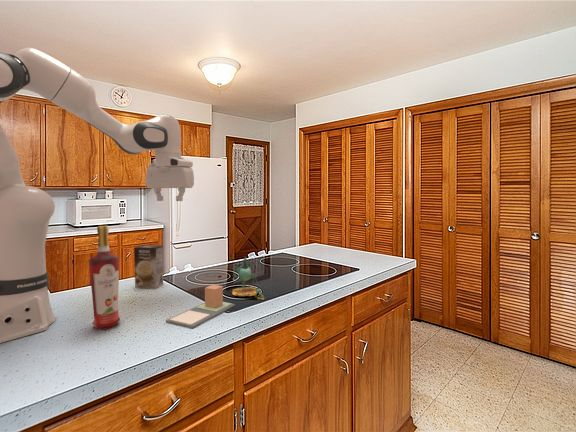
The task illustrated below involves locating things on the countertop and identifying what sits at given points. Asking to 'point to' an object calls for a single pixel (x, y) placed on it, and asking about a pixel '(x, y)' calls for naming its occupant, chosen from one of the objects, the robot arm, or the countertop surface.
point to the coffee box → (148, 266)
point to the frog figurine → (246, 291)
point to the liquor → (104, 283)
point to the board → (198, 315)
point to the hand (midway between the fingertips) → (169, 201)
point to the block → (214, 296)
